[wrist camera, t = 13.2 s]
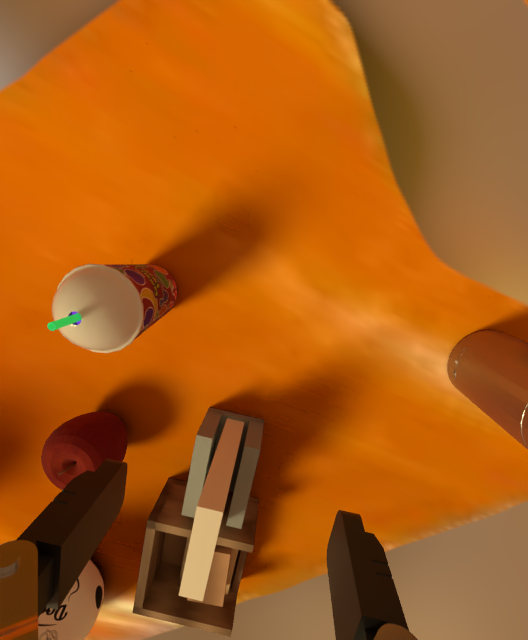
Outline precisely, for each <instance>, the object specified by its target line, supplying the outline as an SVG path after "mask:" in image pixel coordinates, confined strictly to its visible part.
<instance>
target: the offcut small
mask: <svg viewBox="0 0 528 640" xmlns="http://www.w3.org/2000/svg"><path fill="white" fill-rule="evenodd" d="M231 551H232V548H229V547H225V546H221V545H217V544H216V547H215V551H214V555H213V560H212V564H211V568H210V572H209V577H208V581H207V585H206V590H205V594H204V598H203V601H198V600H194V599H190V598H187V600H188V601H193V602H199V603H204V604H210V605H215V606H221V607H223V602H224V596H225V590H226V585H227V578H228V571H229V565H230V558H231Z"/></svg>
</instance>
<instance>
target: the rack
mask: <svg viewBox="0 0 528 640" xmlns="http://www.w3.org/2000/svg"><path fill="white" fill-rule="evenodd" d="M187 483H188V482H186V481H182V480H177V479H173V478H168V480H167V482H166V484H165V486H164V488H163V490H162V492H161V494H160V496H159V498H158V500H157V502H156V504H155V506H154V508H153V510H152V512H151V514H150V516H149V518H148V520H147V527H146V533H145V539H144V545H143V552H142V558H141V564H140V570H139V577H138V583H137V589H136V595H135V602H134V608H133V613H135V614H139V615H143V616H147V617H151V618H156V619H160V620H164V621H168V622H172V623H176V624H180V625H185V626H189V627H193V628H197V629H201V630H206V631H210V632H213V633H218V634H222V635H227V636H231V632H232V627H233V620H234V613H235V606H236V599H237V592H238V588H239V584H240V580H241V577H242V573H243V569H244V565H245V561H246V557H247V553H248V552H250V553H252V551H253V547H254V540H255V531H256V522H257V512H258V503H259V499H258V498H254V497H250V496H249V499H248V503H247V507H246V511H245V516H244V520H243V524H242V528H241V529H239V528H235V527H230V526H226V524H227V520H228V515H229V510H230V506H231V501H232V496H233V492H228V496H227V500H226V504H225V508H224V513H223V517H222V521H221V526H220V530H219V534H218V538H217V543H216V544H217V545H221V546H225V547H229V548H233V549H238V554H237V558H236V562H235V566H234V570H233V575H232V579H231V583H230V587H229V591H228V595H227V594H225V596H224V602H223V607H221V606H215V605H210V604H204V603H199V602H193V601H188V600H187V598H186V597H182V596H179V591H180V586H181V581H182V576H183V572H184V567H185V562H186V557H187V552H188V547H189V542H190V538H191V533H192V528H193V523H194V518H192V517H188V516H184V515H181V514H182V509H183V504H184V498H185V493H186V488H187Z"/></svg>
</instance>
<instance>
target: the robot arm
mask: <svg viewBox="0 0 528 640" xmlns="http://www.w3.org/2000/svg"><path fill="white" fill-rule="evenodd" d="M448 375H449V378H450V380H451V382H452V384H453V385H454V386H455V387H456V388H457V389H458V390H459V391H460V392H461V393H463V394H464V395H465V396H466V397H467V398H468V399H470V400H471V401H472V402H473V403H474V404H475V405H476V406H477V407H479V408H480V409H481V410H482V411H483V412H484V413H486V414H487V415H488V416H489V417H490V418H491V419H493V420H494V421H495V422H496V423H497V424H498V425H500V426H501V427H502V428H503V429H504V430H506V431H507V432H508V433H509V434H510V435H511V436H513V437H514V438H515V439H516V440H517V441H518V442H520V443H521V444H522V445H523V446H524V447H525V448H527V449H528V343H527V342H524V341H522V340H520V339H517V338H515V337H512V336H510V335H508V334H505V333H503V332H499V331H495V330H484V331H478V332H475V333H473V334H470V335H468V336H467V337H465V338H463V339H462V340H461V341H460V342H459V343H458V344H457V345H456V346H455V347H454V349H453V350H452V352H451V354H450V356H449V360H448ZM126 476H127V463H125V462H120V461H116V460H111V459H106V460H104V461H103V463H102V464H101V465H100V466H99V467H98V468H97V470H96V471H95V472H93V471H89V470H87V471H85V472H83V473H82V474H80V475H78V476H76V477H75V478H73V479H72V480H71V481H70V482H69V483H68V484H67V485H66V487H65V488H64V489H63V490H62V492H60V493H59V494H58V495H57V496H56V497H55V499H54V500H53V502H51V503H50V504H49V505H48V506H47V507H46V508H45V509H44V510H43V512H42V513H41V514H40V515H39V516H38V517H37V518H36V519H35V520H34V521H33V522H32V524H31V525H30V526H29V527H28V528H27V529H26V530H25V531H24V532H23V533H22V534H21V535H20V537H19V538H18V539H17V540H14V541H10V542H7V543H4V544H1V545H0V640H38V618H39V616H40V615H41V613H42V612H43V610H44V609H45V607H47V608H51V609H56V610H58V609H59V607H60V606H61V604H62V603H63V601H64V599H65V598H66V596H67V595H68V593H69V591H70V590H71V588H72V587H73V585H74V584H75V582H76V580H77V579H78V577H79V576H80V574H81V572H82V571H83V569H84V568H85V566H86V565H87V563H88V561H89V560H90V558H91V557H92V555H93V553H94V552H95V550H96V549H97V547H98V546H99V544H100V542H101V541H102V539H103V538H104V536H105V534H106V533H107V531H108V530H109V528H110V527H111V525H112V523H113V522H114V520H115V519H116V517H117V515H118V513H119V511H120V509H121V507H122V504H123V500H124V494H125V485H126ZM327 567H328V576H329V584H330V593H331V601H332V609H333V618H334V626H335V635H336V640H418V639H417V638H416V637H415V636H414V635H413V634H411V632H409V629H408V627H407V623H406V620H405V617H404V613H403V611H402V607H401V604H400V600H399V597H398V594H397V591H396V588H395V584H394V581H393V579H392V575H391V571H390V569H389V566H388V562H387V559H386V555H385V552H384V549H383V547H382V545H381V544H380V543H379V541H378V540H377V538H376V537H375V535H374V534H372V533H367V532H365V530H364V527H363V523H362V519H361V516H360V515H359V514H355V513H351V512H346V511H341V510H339V511H338V512H337V515H336V518H335V522H334V525H333V529H332V532H331V536H330V539H329V543H328V548H327Z"/></svg>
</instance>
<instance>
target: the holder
mask: <svg viewBox="0 0 528 640" xmlns="http://www.w3.org/2000/svg"><path fill="white" fill-rule="evenodd" d="M227 418H229V419H233V420H237V421H242V422H244V426H243V431H242V435H241V439H240V444H239V448H238V452H237V457H236V461H235V465H234V470H233V474H232V478H231V483H230V487H229V491H231V492H233V496H232V501H231V506H230V510H229V515H228V520H227V524H226V526H230V527H235V528H239V529H241V528H242V524H243V520H244V516H245V511H246V507H247V503H248V499H249V495H250V491H251V487H252V483H253V479H254V474H255V470H256V466H257V462H258V458H259V454H260V450H261V442H262V434H263V426H264V420H262V419H258V418H253V417H249V416H245V415H240V414H236V413H232V412H227V411H223V410H219V409H214V408H210V407H209V409H208V411H207V414H206V416H205V418H204V420H203V422H202V424H201V426H200V428H199V431H198V433H197V435H196V440H195V445H194V451H193V456H192V461H191V467H190V472H189V477H188V483H187V488H186V493H185V498H184V504H183V509H182V514H181V515H184V516H188V517H192V518H195V513H196V508H197V505H198V502H199V499H200V496H201V493H202V490H203V487H204V484H205V481H206V478H207V475H208V472H209V469H210V467H211V464H212V461H213V458H214V455H215V452H216V449H217V446H218V443H219V440H220V437H221V434H222V431H223V428H224V425H225V423H226V420H227Z"/></svg>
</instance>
